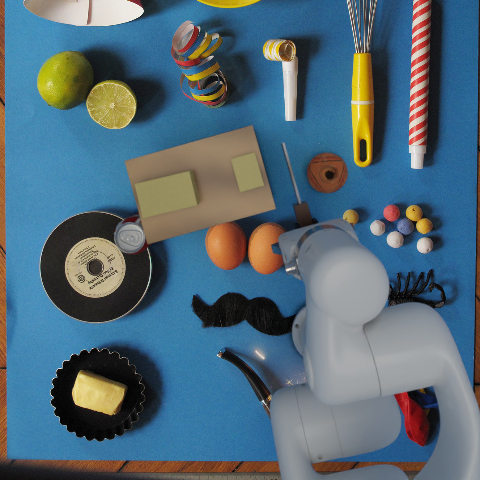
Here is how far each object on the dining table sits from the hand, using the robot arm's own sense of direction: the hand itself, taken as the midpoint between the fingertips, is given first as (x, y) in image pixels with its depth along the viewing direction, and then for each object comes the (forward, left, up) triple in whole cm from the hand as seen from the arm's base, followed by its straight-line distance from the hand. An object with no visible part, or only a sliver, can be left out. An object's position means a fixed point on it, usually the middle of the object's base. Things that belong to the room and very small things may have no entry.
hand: (306, 229), depth 68 cm
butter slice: (+12, +8, +7) cm, 16 cm away
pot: (+7, -8, -17) cm, 20 cm away
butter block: (+12, +19, +6) cm, 23 cm away
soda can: (+6, +30, -17) cm, 35 cm away
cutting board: (+12, +14, -17) cm, 25 cm away
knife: (+5, 0, -1) cm, 5 cm away
